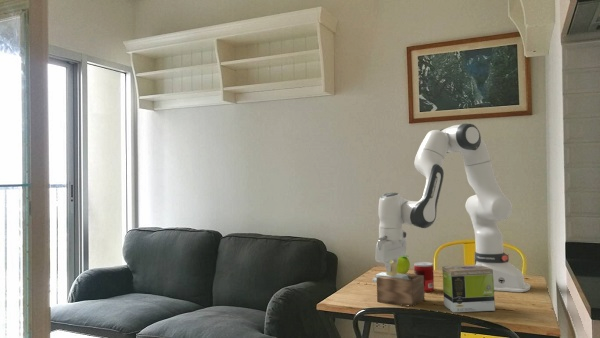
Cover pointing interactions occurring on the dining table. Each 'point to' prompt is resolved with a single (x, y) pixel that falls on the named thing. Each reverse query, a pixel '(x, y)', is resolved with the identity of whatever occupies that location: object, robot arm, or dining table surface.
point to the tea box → (468, 288)
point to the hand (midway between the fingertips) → (391, 270)
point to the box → (400, 290)
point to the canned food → (425, 274)
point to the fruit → (403, 264)
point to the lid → (391, 273)
